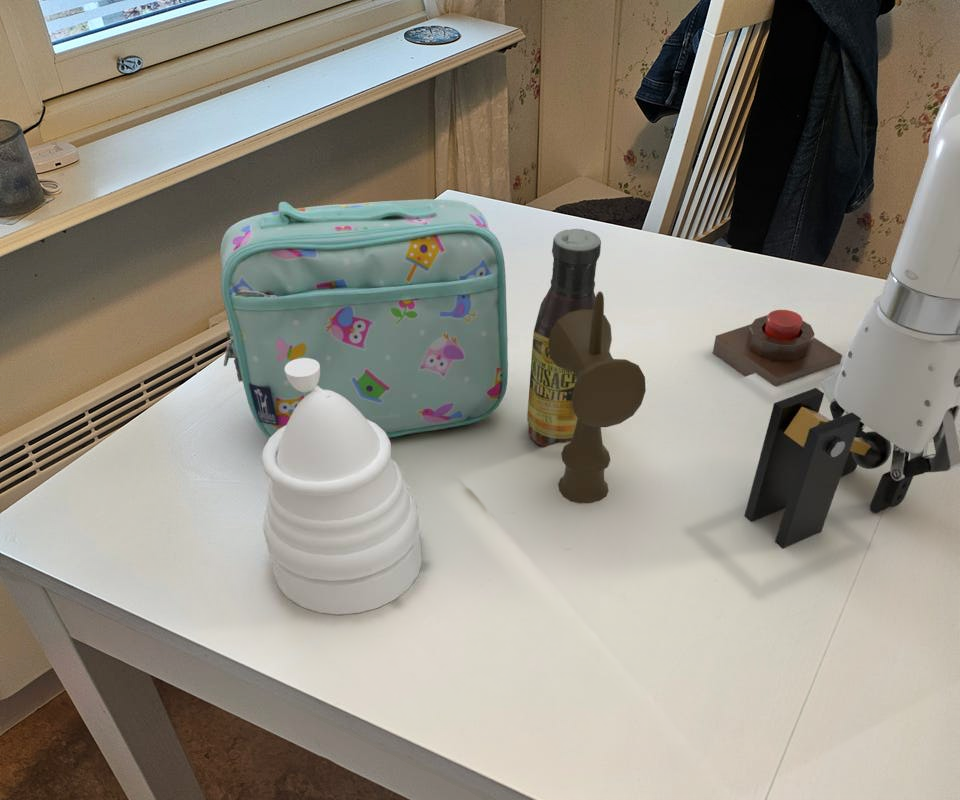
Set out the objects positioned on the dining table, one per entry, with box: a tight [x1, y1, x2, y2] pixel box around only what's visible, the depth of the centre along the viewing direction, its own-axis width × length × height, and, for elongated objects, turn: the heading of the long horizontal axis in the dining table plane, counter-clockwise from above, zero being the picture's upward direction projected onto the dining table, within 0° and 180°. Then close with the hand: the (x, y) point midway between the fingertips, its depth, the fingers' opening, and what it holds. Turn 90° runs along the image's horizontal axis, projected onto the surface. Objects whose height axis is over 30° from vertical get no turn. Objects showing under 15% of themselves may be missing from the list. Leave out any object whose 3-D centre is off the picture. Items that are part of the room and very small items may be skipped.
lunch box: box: [220, 198, 509, 439], centre depth 85 cm, size 27×10×21 cm, turn 102°
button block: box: [712, 314, 843, 387], centre depth 97 cm, size 9×10×4 cm
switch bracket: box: [744, 387, 861, 549], centre depth 75 cm, size 12×9×13 cm
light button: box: [764, 309, 804, 340], centre depth 95 cm, size 4×4×2 cm
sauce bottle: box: [526, 228, 602, 448], centre depth 83 cm, size 7×6×20 cm
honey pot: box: [261, 358, 423, 616], centre depth 71 cm, size 13×13×18 cm
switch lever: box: [784, 407, 893, 470], centre depth 75 cm, size 13×3×3 cm, turn 119°
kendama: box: [548, 291, 647, 505], centre depth 76 cm, size 6×10×20 cm, turn 11°
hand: (862, 488), depth 82 cm, fingers open, 4 cm apart
